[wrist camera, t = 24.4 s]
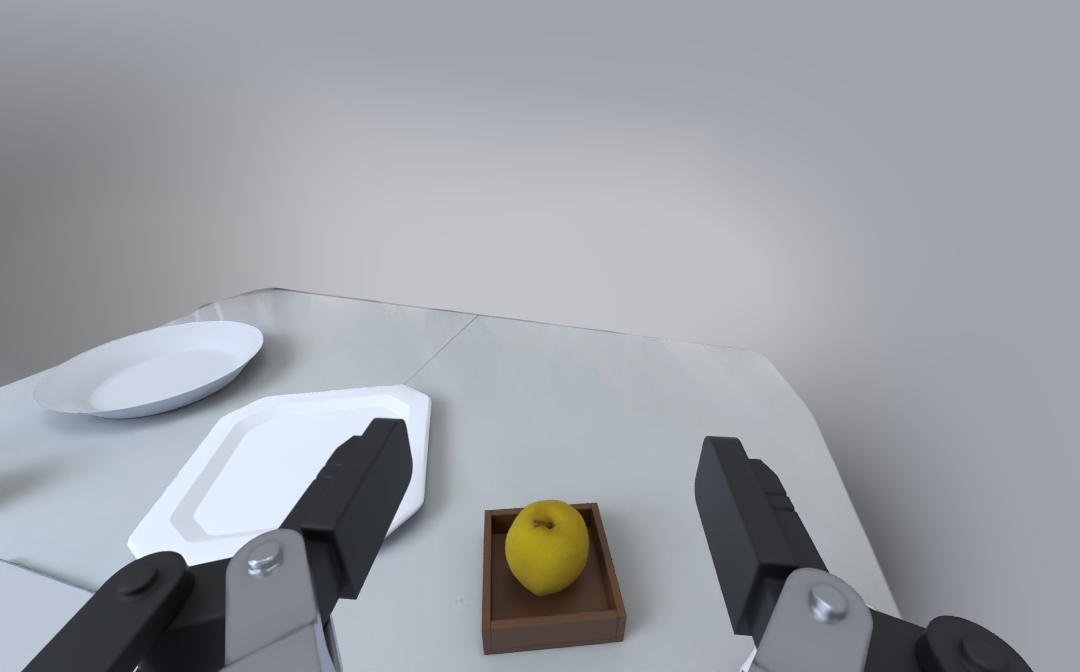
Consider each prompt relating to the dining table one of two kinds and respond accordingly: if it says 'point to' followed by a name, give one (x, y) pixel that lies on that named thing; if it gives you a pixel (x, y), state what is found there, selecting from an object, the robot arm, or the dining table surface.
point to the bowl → (150, 370)
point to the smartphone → (32, 612)
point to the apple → (547, 546)
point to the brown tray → (556, 618)
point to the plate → (273, 468)
